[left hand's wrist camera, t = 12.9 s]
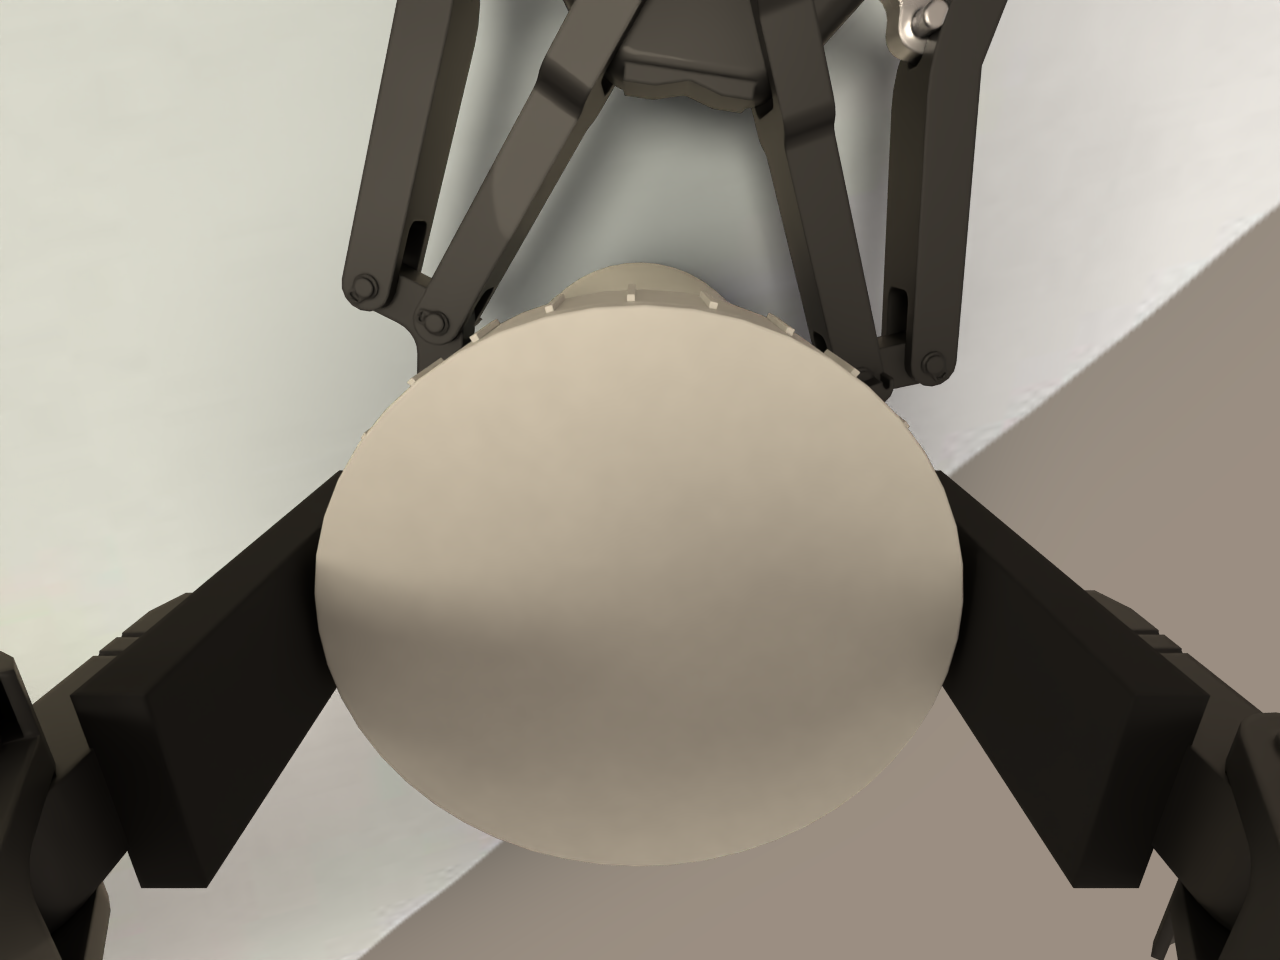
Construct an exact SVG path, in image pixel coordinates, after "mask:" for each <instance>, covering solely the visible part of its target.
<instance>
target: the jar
mask: <svg viewBox="0 0 1280 960" xmlns="http://www.w3.org/2000/svg"><path fill="white" fill-rule="evenodd" d="M629 284H635V285H636V290H640V289H646V290H658V291H670V292H682V293H689V294H693V295H698V296H700V292H701V291H706V292H708V293H709V294H710V295H711V296H712V297H713V298H714V299H715V300H720V301H724V302H727V301H726V300H725V299H724V298H723V297H722V296H721V295H720V294H719V293H718V292H717V291H716V290H714V289H713V288H712V287H710V286H709V285H707V284H706V283H705V282H703V281H702V280H700V279H698V278H696V277H695V276H693V275H691V274H689V273H687V272H684V271H681V270H679V269H676V268H673V267H669V266H665V265H660V264H654V263H642V262H640V263H624V264H619V265H613V266H609V267H606V268H603V269H600V270H597V271H594V272H592V273H590V274H588V275H586V276H584V277H582V278H580V279H578V280H577V281H575V282H574V283H573V284H571V285H570V286H568V287H567V288H566V289H564V290H563V291H562V292H561V293H560V294H564V297H565V299H566V298H571V297H576V296H581V295H587V294H592V293H597V292H602V291H621V290H628V285H629ZM560 294H559V295H560ZM727 303H728V302H727Z"/></svg>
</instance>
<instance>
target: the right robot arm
mask: <svg viewBox="0 0 1280 960" xmlns="http://www.w3.org/2000/svg"><path fill="white" fill-rule="evenodd" d="M563 1H564V3H565V5H566V7H567V9H568V11H569V12H568V14H567V16H566V18H565V20H564V22H563V24H562V26H561V27H560V29H559V31H558V33H557V35H556V37H555V39H554V41H553V42H552V44H551V46H550V48H549V50H548V52H547V54H546V56H545V58H544V60H543V62H542V65H541V67H540V70H539V74H538V78H537V81H536V84H535V86H534V88H533V90H532V92H531V94H530V96H529V98H528V99H527V101H526V103H525V105H524V107H523V109H522V111H521V113H520V114H519V116H518V118H517V120H516V122H515V124H514V126H513V127H512V129H511V131H510V133H509V135H508V137H507V139H506V141H505V142H504V144H503V146H502V148H501V150H500V152H499V154H498V155H497V157H496V159H495V161H494V163H493V165H492V167H491V169H490V170H489V172H488V174H487V176H486V178H485V180H484V182H483V184H482V185H481V187H480V189H479V191H478V193H477V195H476V197H475V198H474V200H473V202H472V204H471V206H470V208H469V210H468V212H467V213H466V215H465V217H464V219H463V221H462V223H461V225H460V226H459V228H458V230H457V232H456V234H455V236H454V238H453V240H452V241H451V243H450V245H449V247H448V249H447V251H446V253H445V254H444V256H443V258H442V260H441V262H440V264H439V266H438V268H437V269H436V271H435V273H434V275H433V277H432V278H430V277H428V276H426V275H424V274H422V273H421V270H422V266H423V261H424V257H425V253H426V249H427V244H428V240H429V236H430V232H431V228H432V223H433V219H434V215H435V211H436V207H437V202H438V198H439V194H440V190H441V186H442V181H443V177H444V173H445V169H446V164H447V160H448V156H449V152H450V148H451V143H452V139H453V135H454V131H455V127H456V122H457V118H458V114H459V110H460V105H461V101H462V97H463V93H464V89H465V84H466V80H467V76H468V72H469V68H470V63H471V59H472V55H473V51H474V47H475V41H476V36H477V30H478V23H479V10H480V0H397V3H396V8H395V13H394V18H393V24H392V29H391V34H390V39H389V44H388V49H387V54H386V59H385V64H384V69H383V74H382V79H381V84H380V89H379V94H378V99H377V104H376V109H375V115H374V120H373V125H372V130H371V135H370V140H369V145H368V150H367V155H366V160H365V165H364V170H363V175H362V180H361V185H360V190H359V195H358V200H357V206H356V211H355V216H354V221H353V226H352V231H351V236H350V241H349V246H348V251H347V256H346V261H345V266H344V271H343V276H342V290H343V292H344V295H345V297H346V299H347V300H348V301H349V302H350V303H351V304H352V305H353V306H355V307H356V308H358V309H360V310H364V311H375V312H377V313H379V314H381V315H383V316H385V317H387V318H389V319H391V320H393V321H395V322H397V323H399V324H401V325H402V326H404V327H405V328H406V329H407V330H408V331H409V332H410V333H411V335H412V336H413V338H414V340H415V343H416V346H417V374H418V373H420V372H421V371H422V370H424V369H425V368H427V367H428V366H430V365H431V364H432V363H434V362H435V361H437V360H438V359H440V358H442V359H443V360H446V359H447V358H448V357H450V356H451V355H453V354H454V353H455V352H457V351H458V350H460V349H461V348H463V347H464V346H466V345H467V344H468V343H470V342H471V339H470V336H472V335H473V334H474V333H475V326H476V325H478V323H479V322H480V321H481V320H482V318H480V316H481V314H482V313H483V311H484V309H485V307H486V306H487V304H488V302H489V300H490V299H491V297H492V295H493V294H494V292H495V290H496V288H497V287H498V285H499V283H500V281H501V280H502V278H503V276H504V274H505V273H506V271H507V269H508V267H509V266H510V264H511V262H512V260H513V259H514V257H515V255H516V253H517V252H518V250H519V248H520V246H521V245H522V243H523V241H524V239H525V238H526V236H527V234H528V232H529V231H530V229H531V227H532V225H533V224H534V222H535V220H536V218H537V217H538V215H539V213H540V211H541V210H542V208H543V206H544V204H545V203H546V201H547V199H548V197H549V196H550V194H551V192H552V190H553V189H554V187H555V185H556V183H557V182H558V180H559V178H560V176H561V175H562V173H563V171H564V169H565V168H566V166H567V164H568V162H569V161H570V159H571V157H572V155H573V154H574V152H575V150H576V148H577V147H578V145H579V143H580V141H581V140H582V138H583V136H584V134H585V133H586V131H587V129H588V128H589V126H590V125H591V124H592V123H593V122H594V120H595V119H596V117H597V116H598V114H599V113H600V111H601V109H602V107H603V106H604V104H605V102H606V100H607V99H608V97H609V95H610V93H611V92H612V90H613V88H614V86H616V87H618V88H620V89H622V90H624V94H625V95H626V96H632V97H639V98H645V99H652V100H655V99H662V98H669V97H675V96H687V97H689V98H691V99H694V100H696V101H698V102H700V103H702V104H704V105H706V106H708V107H710V108H712V109H718V110H724V111H731V112H737V113H742V112H743V111H744V110H745V109H746V108H752V113H753V117H754V121H755V125H756V129H757V133H758V137H759V140H760V143H761V146H762V148H763V150H764V152H765V154H766V156H767V160H768V164H769V168H770V172H771V176H772V180H773V184H774V188H775V193H776V197H777V201H778V205H779V209H780V213H781V217H782V222H783V226H784V230H785V234H786V238H787V242H788V246H789V250H790V255H791V259H792V263H793V267H794V271H795V275H796V279H797V283H798V288H799V292H800V296H801V300H802V304H803V308H804V312H805V317H806V321H807V325H808V329H809V333H810V337H811V341H812V345H813V346H814V347H816V348H817V349H818V350H820V351H821V352H823V353H824V352H825V351H826V350H827V349H828V350H829V351H831V352H832V353H834V354H835V355H837V356H838V357H840V358H841V359H842V360H844V361H845V362H847V363H848V364H850V365H851V366H853V367H854V368H856V369H857V370H858V371H859V372H860V373H859V375H858V376H857V378H858V379H859V380H861V381H862V382H863V383H865V384H866V385H867V386H869V387H870V388H871V389H872V390H873V391H874V392H875V393H876V394H877V395H878V396H879V397H880V398H881V399H882V400H883V401H884V402H885V401H886V400H887V399H888V398H889V397H890V396H891V394H892V391H893V389H895V388H900V387H905V386H910V385H914V384H919V383H920V384H922V385H925V386H935V385H939V384H941V383H943V382H944V381H946V380H947V379H949V377H950V376H951V374H952V373H953V372H954V369H955V366H956V361H957V349H958V338H959V326H960V314H961V303H962V291H963V279H964V267H965V256H966V244H967V232H968V221H969V209H970V197H971V185H972V174H973V162H974V150H975V139H976V127H977V115H978V103H979V92H980V80H981V68H982V64H983V61H984V59H985V56H986V54H987V51H988V49H989V46H990V43H991V41H992V38H993V36H994V33H995V31H996V28H997V26H998V23H999V21H1000V18H1001V15H1002V13H1003V10H1004V8H1005V5H1006V3H1007V0H879V1H880V2H881V3H882V4H883V6H884V8H885V11H886V15H887V26H886V36H885V38H886V44H887V47H888V49H889V51H890V52H891V53H892V55H893V56H894V57H896V58H898V59H900V63H899V67H898V70H897V75H896V80H895V85H894V90H893V100H892V110H891V132H890V154H889V177H888V199H887V222H886V244H885V266H884V289H883V311H882V334H881V336H880V337H877V335H876V330H875V326H874V321H873V316H872V311H871V306H870V301H869V297H868V292H867V287H866V282H865V277H864V273H863V268H862V263H861V258H860V253H859V248H858V244H857V239H856V234H855V229H854V224H853V219H852V215H851V210H850V205H849V200H848V195H847V190H846V186H845V181H844V176H843V171H842V166H841V161H840V157H839V152H838V147H837V142H836V137H835V131H834V121H835V102H834V96H833V91H832V86H831V81H830V76H829V71H828V67H827V62H826V57H825V52H824V47H823V45H824V44H825V43H826V42H827V41H828V40H829V39H830V38H831V37H832V35H833V34H834V33H835V32H836V31H837V30H838V29H839V28H840V27H841V25H842V24H843V23H844V22H845V21H846V20H847V19H848V18H849V17H850V15H851V14H852V13H853V12H854V11H855V10H856V9H857V8H858V7H859V5H860V4H861V3H862V2H863V1H864V0H563Z"/></svg>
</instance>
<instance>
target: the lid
mask: <svg viewBox="0 0 1280 960" xmlns="http://www.w3.org/2000/svg"><path fill="white" fill-rule="evenodd" d="M794 331H795V330H794V329H793V328H792V327H790V326H789V325H787V324H786V323H785V322H783V321H782V320H780V319H779V318H777V317H776V316H775V315H773V314H771V313H768V315H767V317H764V316H762V315H760V314H757V313H754V312H752V311H749V310H746V309H744V308H741V307H738V306H735V305H733V304H730V303H727V302H724V301H720V300H715V299H714V298H713V297H712V296H711V295H710V294H709V293H708V292H706V291H701V292H700V296H698V295H693V294H689V293H682V292H670V291H658V290H646V289H640V290H636V285H635V284H629V285H628V290H621V291H602V292H597V293H592V294H587V295H581V296H576V297H571V298H566V299H565V297H564V294H560V295H557V296H556V297H555V298H554V299H553V300H552V301H550V302H549V303H548V304H546V305H543V306H540V307H537V308H534V309H531V310H528V311H525V312H523V313H521V314H519V315H517V316H515V317H513V318H511V319H509V320H507V321H505V322H503V323H501V324H500V323H499V321H498V319H496V320H494V321H492V322H491V323H489V324H488V325H486V326H485V327H483V328H482V329H480V330H479V331H478V332H476V333H475V334H473V335H472V336H470V339H471V342H470V343H468V344H467V345H466V346H464V347H463V348H461V349H460V350H458V351H457V352H455V353H454V354H453V355H451V356H450V357H448V358H447V359H446V360H443V359H442V358H440V359H438V360H437V361H435V362H434V363H432V364H431V365H430V366H428V367H427V368H425V369H424V370H422V371H421V372H420V373H418V374H417V375H415V376H414V377H412V378H411V379H410V380H409V381H408V382H407V383H408V384H409V385H410V387H409V388H408V389H407V390H406V391H405V392H404V393H403V394H402V395H401V396H400V397H399V398H398V399H397V400H395V401H394V402H393V403H392V404H391V405H390V406H389V407H388V408H387V409H386V410H385V411H384V412H383V414H382V415H381V416H380V417H379V419H378V420H377V421H376V422H375V424H374V425H373V426H372V427H371V428H370V429H369V430H367V431H366V432H365V433H364V434H363V436H362V437H361V439H362V440H361V441H360V443H359V444H358V446H357V447H356V449H355V451H354V453H353V454H352V456H351V458H350V460H349V461H348V463H347V465H346V467H345V468H344V470H343V472H342V474H341V476H340V477H339V479H338V481H337V484H336V487H335V489H334V492H333V495H332V497H331V500H330V503H329V505H328V508H327V511H326V513H325V516H324V520H323V525H322V530H321V535H320V539H319V544H318V549H317V554H316V572H315V603H316V612H317V622H318V630H319V634H320V638H321V642H322V646H323V650H324V654H325V657H326V661H327V665H328V667H329V670H330V672H331V675H332V677H333V679H334V682H335V684H336V686H337V689H338V691H339V694H340V696H341V698H342V700H343V702H344V703H345V705H346V707H347V708H348V710H349V712H350V713H351V715H352V717H353V719H354V720H355V722H356V724H357V725H358V727H359V729H360V730H361V731H362V733H363V734H364V735H365V736H366V738H367V739H368V740H369V742H370V743H371V744H372V745H373V747H374V748H375V749H376V750H377V752H378V753H379V754H380V756H381V757H382V758H383V759H384V760H385V761H386V762H387V763H388V764H389V765H390V766H391V767H392V768H393V769H394V770H395V771H396V772H397V773H398V774H399V775H400V776H401V777H402V778H403V779H404V780H405V781H406V782H407V783H409V784H410V785H411V786H413V787H414V788H415V789H416V790H418V791H419V792H420V793H421V794H423V795H424V796H425V797H426V798H428V799H429V800H430V801H431V802H433V803H434V804H436V805H437V806H439V807H440V808H442V809H444V810H445V811H447V812H448V813H450V814H452V815H453V816H455V817H456V818H458V819H460V820H461V821H463V822H464V823H467V824H469V825H471V826H473V827H475V828H477V829H479V830H481V831H483V832H485V833H487V834H489V835H491V836H493V837H495V838H498V839H501V840H503V841H506V842H509V843H512V844H514V845H517V846H520V847H522V848H525V849H528V850H531V851H535V852H539V853H543V854H547V855H551V856H555V857H559V858H563V859H568V860H575V861H581V862H588V863H594V864H602V865H619V866H661V865H676V864H683V863H691V862H698V861H705V860H710V859H715V858H719V857H723V856H727V855H731V854H736V853H740V852H743V851H746V850H749V849H752V848H755V847H758V846H761V845H764V844H767V843H770V842H773V841H776V840H778V839H780V838H782V837H784V836H786V835H789V834H791V833H793V832H795V831H797V830H799V829H802V828H804V827H806V826H808V825H810V824H811V823H813V822H815V821H816V820H818V819H820V818H821V817H823V816H825V815H827V814H828V813H830V812H832V811H833V810H835V809H837V808H838V807H840V806H841V805H842V804H844V803H845V802H846V801H848V800H849V799H850V798H851V797H853V796H854V795H856V794H857V793H858V792H859V791H861V790H862V789H863V788H865V787H866V786H867V785H868V784H869V783H870V782H871V781H872V780H873V779H875V778H876V777H877V776H878V775H879V774H880V773H881V772H882V771H883V770H884V769H885V768H886V767H887V766H888V765H889V764H890V763H891V762H892V761H893V760H894V759H895V758H896V756H897V755H898V754H899V753H900V752H901V750H902V749H903V748H904V747H905V746H906V744H907V743H908V742H909V741H910V739H911V738H912V737H913V736H914V735H915V733H916V731H917V730H918V728H919V727H920V725H921V723H922V722H923V720H924V719H925V717H926V716H927V714H928V712H929V711H930V709H931V708H932V706H933V704H934V702H935V700H936V698H937V695H938V693H939V691H940V689H941V687H942V685H943V682H944V680H945V678H946V676H947V674H948V671H949V667H950V664H951V661H952V657H953V654H954V650H955V647H956V644H957V640H958V636H959V629H960V621H961V614H962V607H963V562H962V556H961V550H960V544H959V538H958V532H957V526H956V523H955V520H954V517H953V514H952V511H951V508H950V505H949V502H948V499H947V496H946V493H945V490H944V488H943V486H942V484H941V482H940V480H939V478H938V476H937V474H936V472H935V470H934V468H933V466H932V464H931V463H930V461H929V459H928V457H927V455H926V453H925V451H924V450H923V449H922V447H921V446H920V445H919V443H918V442H917V440H916V439H915V438H914V436H913V435H912V434H911V432H910V431H909V430H908V428H909V425H908V424H907V422H906V421H905V420H903V419H902V418H901V417H899V416H898V415H897V414H896V413H895V412H894V411H893V410H892V409H891V408H890V407H889V406H888V405H887V404H886V403H885V402H884V401H883V400H882V399H881V398H880V397H879V396H878V395H877V394H876V393H875V392H874V391H873V390H872V389H871V388H870V387H869V386H867V385H866V384H865V383H863V382H862V381H861V380H859V379H858V378H857V376H858V375H859V373H860V372H859V371H858V370H857V369H856V368H854V367H853V366H851V365H850V364H848V363H847V362H845V361H844V360H842V359H841V358H840V357H838V356H837V355H835V354H834V353H832V352H831V351H829V350H828V349H827V350H826V351H825V352H824V353H823V352H821V351H820V350H818V349H817V348H816V347H814V346H813V345H812V344H810V343H809V342H807V341H806V340H805V339H803V338H802V337H801V336H799V335H798V334H796V333H794Z"/></svg>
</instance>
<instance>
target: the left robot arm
mask: <svg viewBox="0 0 1280 960" xmlns="http://www.w3.org/2000/svg"><path fill="white" fill-rule="evenodd" d="M342 472H343V471H338V472H337V473H336V474H334V475H333V476H332V477H331V478H330V479H328V480H327V481H326V482H325V483H324V484H322V485H321V486H320V487H319V488H318V489H316V490H315V491H314V492H313V493H312V494H310V495H309V496H308V497H307V498H306V499H304V500H303V501H302V502H301V503H300V504H298V505H297V506H296V507H295V508H294V509H292V510H291V511H290V512H289V513H288V514H286V515H285V516H284V517H283V518H282V519H280V520H279V521H278V522H277V523H276V524H274V525H273V526H272V527H271V528H270V529H268V530H267V531H266V532H265V533H264V534H262V535H261V536H260V537H259V538H258V539H256V540H255V541H254V542H253V543H252V544H251V545H249V546H248V547H247V548H246V549H245V550H243V551H242V552H241V553H240V554H239V555H237V556H236V557H235V558H234V559H233V560H231V561H230V562H229V563H228V564H227V565H225V566H224V567H223V568H222V569H221V570H219V571H218V572H217V573H216V574H215V575H213V576H212V577H211V578H210V579H209V580H207V581H206V582H205V583H204V584H203V585H201V586H200V587H199V588H198V589H197V590H195V591H194V592H193V593H185V594H183V595H181V596H179V597H177V598H175V599H173V600H171V601H169V602H167V603H165V604H163V605H161V606H159V607H157V608H155V609H153V610H151V611H149V612H148V613H147V614H145V615H144V616H143V617H142V618H140V619H139V620H138V621H137V622H135V623H134V624H133V625H132V626H130V627H129V628H128V629H126V630H125V631H124V632H123V633H122V637H116V638H115V639H114V640H113V641H111V642H110V643H109V644H108V645H106V646H105V647H104V648H103V649H101V650H100V651H99V656H93V657H91V658H90V659H89V660H88V661H86V662H85V663H84V664H83V665H81V666H80V667H79V668H78V669H76V670H75V671H74V672H73V673H71V674H70V675H69V676H68V677H66V678H65V679H64V680H63V681H61V682H60V683H59V684H58V685H56V686H55V687H54V688H53V689H51V690H50V691H49V692H48V693H46V694H45V695H44V696H43V697H41V698H40V699H39V700H38V701H36V702H35V703H34V704H33V705H32V703H31V700H30V698H29V695H28V693H27V690H26V688H25V685H24V683H23V680H22V678H21V675H20V673H19V670H18V668H17V665H16V663H15V660H14V658H13V657H11V656H9V655H7V654H5V653H4V652H2V651H0V960H103V954H104V947H105V941H106V935H107V929H108V923H109V916H110V904H109V897H108V893H107V891H106V888H105V886H104V883H103V880H104V879H105V878H106V877H107V875H108V874H109V873H110V872H111V870H112V869H113V868H114V867H115V865H116V864H117V863H118V862H119V861H120V859H121V858H122V857H123V856H124V854H125V853H126V852H127V851H128V854H129V857H130V859H131V862H132V865H133V867H134V870H135V873H136V875H137V878H138V881H139V883H140V886H141V888H207V887H208V885H209V884H210V882H211V881H212V879H213V877H214V876H215V874H216V873H217V871H218V870H219V868H220V867H221V865H222V864H223V862H224V860H225V859H226V857H227V856H228V854H229V853H230V851H231V850H232V848H233V847H234V845H235V844H236V842H237V840H238V839H239V837H240V836H241V834H242V833H243V831H244V830H245V828H246V827H247V825H248V823H249V822H250V820H251V819H252V817H253V816H254V814H255V813H256V811H257V810H258V808H259V806H260V805H261V803H262V802H263V800H264V799H265V797H266V796H267V794H268V793H269V791H270V790H271V788H272V786H273V785H274V783H275V782H276V780H277V779H278V777H279V776H280V774H281V773H282V771H283V769H284V768H285V766H286V765H287V763H288V762H289V760H290V759H291V757H292V756H293V754H294V753H295V751H296V749H297V748H298V746H299V745H300V743H301V742H302V740H303V739H304V737H305V736H306V734H307V732H308V731H309V729H310V728H311V726H312V725H313V723H314V722H315V720H316V719H317V717H318V715H319V714H320V712H321V711H322V709H323V708H324V706H325V705H326V703H327V702H328V700H329V699H330V697H331V695H332V694H333V692H334V691H335V689H336V688H337V686H336V684H335V682H334V679H333V677H332V675H331V672H330V670H329V667H328V665H327V661H326V657H325V654H324V650H323V646H322V642H321V638H320V634H319V630H318V622H317V612H316V603H315V572H316V554H317V549H318V544H319V539H320V535H321V530H322V525H323V520H324V516H325V513H326V511H327V508H328V505H329V503H330V500H331V497H332V495H333V492H334V489H335V487H336V484H337V481H338V479H339V477H340V476H341V474H342ZM935 472H936V474H937V476H938V478H939V480H940V482H941V484H942V486H943V488H944V490H945V493H946V496H947V499H948V502H949V505H950V508H951V511H952V514H953V517H954V520H955V523H956V526H957V532H958V538H959V544H960V550H961V556H962V562H963V607H962V614H961V621H960V629H959V636H958V640H957V644H956V647H955V650H954V654H953V657H952V661H951V664H950V667H949V671H948V674H947V676H946V678H945V680H944V682H943V685H942V686H943V688H944V689H945V691H946V692H947V694H948V695H949V697H950V699H951V700H952V702H953V703H954V705H955V706H956V708H957V709H958V711H959V712H960V714H961V715H962V717H963V719H964V720H965V722H966V723H967V725H968V726H969V728H970V729H971V731H972V732H973V734H974V736H975V737H976V739H977V740H978V742H979V743H980V745H981V746H982V748H983V749H984V751H985V752H986V754H987V755H988V757H989V759H990V760H991V762H992V763H993V765H994V766H995V768H996V769H997V771H998V773H999V774H1000V775H1001V777H1002V779H1003V780H1004V782H1005V783H1006V785H1007V786H1008V788H1009V790H1010V791H1011V793H1012V794H1013V796H1014V797H1015V799H1016V800H1017V802H1018V803H1019V805H1020V806H1021V808H1022V809H1023V811H1024V813H1025V814H1026V816H1027V817H1028V819H1029V820H1030V822H1031V823H1032V825H1033V827H1034V828H1035V830H1036V831H1037V833H1038V834H1039V836H1040V837H1041V839H1042V840H1043V842H1044V843H1045V845H1046V847H1047V848H1048V850H1049V851H1050V853H1051V854H1052V856H1053V857H1054V859H1055V860H1056V862H1057V864H1058V865H1059V867H1060V868H1061V870H1062V871H1063V873H1064V874H1065V876H1066V877H1067V879H1068V880H1069V882H1070V884H1071V885H1072V887H1073V888H1139V886H1140V883H1141V881H1142V878H1143V875H1144V873H1145V870H1146V867H1147V865H1148V862H1149V859H1150V857H1151V854H1152V851H1153V849H1155V850H1156V852H1157V853H1158V854H1159V855H1160V856H1161V858H1162V859H1163V860H1164V861H1165V863H1166V864H1167V865H1168V866H1169V868H1170V869H1171V870H1172V871H1173V872H1174V874H1175V875H1176V876H1177V877H1178V881H1177V883H1176V886H1175V888H1174V891H1173V894H1172V896H1171V898H1170V901H1169V904H1168V906H1167V909H1166V911H1165V914H1164V916H1163V919H1162V921H1161V924H1160V926H1159V929H1158V931H1157V934H1156V936H1155V939H1154V941H1153V947H1152V953H1151V957H1153V958H1156V959H1158V960H1164V958H1165V955H1166V953H1167V950H1168V948H1169V946H1170V945H1171V944H1173V943H1175V945H1176V951H1177V957H1178V960H1280V713H1262V712H1261V711H1260V710H1259V709H1257V708H1256V707H1255V706H1254V705H1252V704H1251V703H1250V702H1248V701H1247V700H1246V699H1245V698H1243V697H1242V696H1241V695H1240V694H1238V693H1237V692H1236V691H1235V690H1233V689H1232V688H1231V687H1229V686H1228V685H1227V684H1226V683H1224V682H1223V681H1222V680H1221V679H1219V678H1218V677H1217V676H1216V675H1214V674H1213V673H1212V672H1211V671H1209V670H1208V669H1207V668H1206V667H1204V666H1203V665H1202V664H1201V663H1199V662H1198V661H1197V660H1195V659H1194V658H1193V657H1192V656H1190V655H1189V654H1188V653H1182V651H1181V650H1182V649H1181V648H1180V647H1179V646H1178V645H1176V644H1175V643H1174V642H1173V641H1171V640H1170V639H1169V638H1168V637H1166V636H1165V635H1159V631H1158V629H1156V628H1155V627H1154V626H1153V625H1151V624H1150V623H1149V622H1147V621H1146V620H1145V619H1144V618H1142V617H1141V616H1140V615H1139V614H1137V613H1136V612H1135V611H1134V610H1132V609H1131V608H1129V607H1127V606H1125V605H1123V604H1121V603H1119V602H1117V601H1115V600H1113V599H1111V598H1109V597H1107V596H1105V595H1103V594H1101V593H1099V592H1097V591H1095V590H1083V589H1082V588H1081V587H1080V586H1079V585H1077V584H1076V583H1075V582H1074V581H1073V580H1071V579H1070V578H1069V577H1068V576H1067V575H1065V574H1064V573H1063V572H1062V571H1061V570H1059V569H1058V568H1057V567H1056V566H1055V565H1053V564H1052V563H1051V562H1050V561H1049V560H1048V559H1046V558H1045V557H1044V556H1043V555H1042V554H1040V553H1039V552H1038V551H1037V550H1035V549H1034V548H1033V547H1032V546H1031V545H1029V544H1028V543H1027V542H1026V541H1025V540H1024V539H1022V538H1021V537H1020V536H1019V535H1018V534H1016V533H1015V532H1014V531H1013V530H1011V529H1010V528H1009V527H1008V526H1007V525H1006V524H1004V523H1003V522H1002V521H1001V520H1000V519H998V518H997V517H996V516H995V515H994V514H992V513H991V512H990V511H989V510H988V509H986V508H985V507H984V506H983V505H982V504H980V503H979V502H978V501H977V500H976V499H974V498H973V497H972V496H971V495H970V494H968V493H967V492H966V491H965V490H964V489H962V488H961V487H960V486H959V485H958V484H956V483H955V482H954V481H953V480H952V479H950V478H949V477H948V476H947V475H946V474H944V473H943V472H942V471H935Z"/></svg>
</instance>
